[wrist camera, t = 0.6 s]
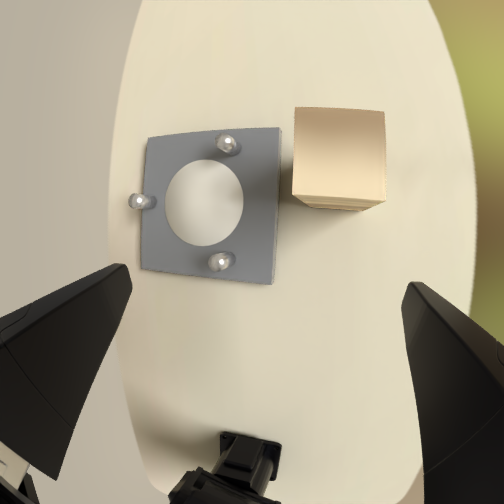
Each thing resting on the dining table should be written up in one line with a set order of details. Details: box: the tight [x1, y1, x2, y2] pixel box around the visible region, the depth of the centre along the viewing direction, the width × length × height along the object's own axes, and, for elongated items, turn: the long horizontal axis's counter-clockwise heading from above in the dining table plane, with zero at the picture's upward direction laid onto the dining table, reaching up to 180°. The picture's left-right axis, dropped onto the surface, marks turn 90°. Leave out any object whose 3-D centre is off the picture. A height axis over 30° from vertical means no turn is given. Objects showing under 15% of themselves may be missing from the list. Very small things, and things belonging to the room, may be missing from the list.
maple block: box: [292, 107, 386, 211], centre depth 16 cm, size 4×4×10 cm
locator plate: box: [129, 128, 282, 285], centre depth 22 cm, size 12×12×4 cm
